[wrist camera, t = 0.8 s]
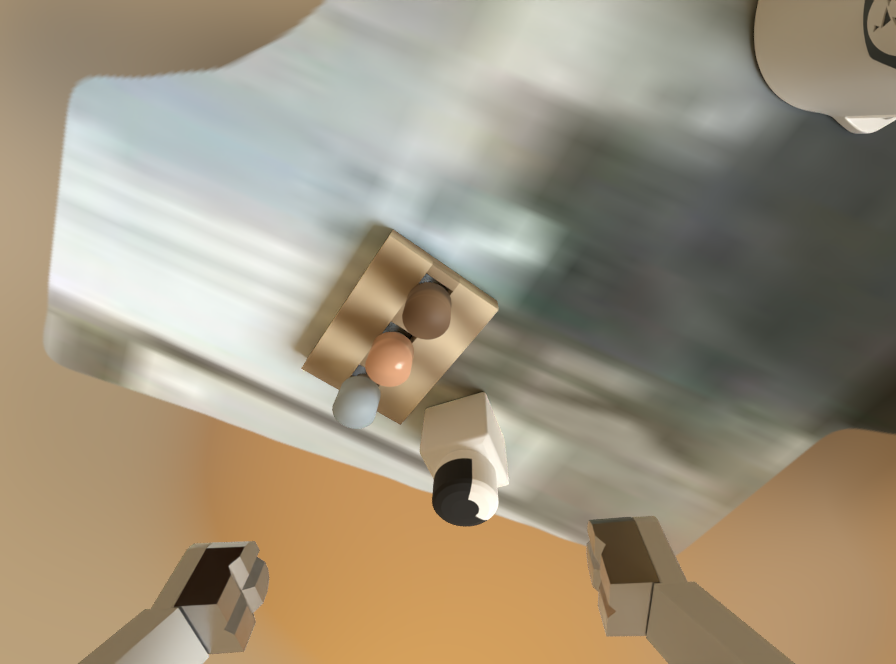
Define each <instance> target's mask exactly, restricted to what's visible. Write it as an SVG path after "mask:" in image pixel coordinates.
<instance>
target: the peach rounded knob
mask: <svg viewBox="0 0 896 664" xmlns="http://www.w3.org/2000/svg"><path fill="white" fill-rule="evenodd" d="M413 357H414V347H413V345H412V343H411V341H410V340H409V339H408V338H407V337H406V336H404V335H403V334H402V333H400V332H397V331H393V332H386V333H383V334H380V335H379V336H378V337H376V339H375V340H374V341H373V344H372V346H371V349H370V352H369V354H368V357H367V360H366V363H365V368H366V372H367V374H368V376H369V377H370V378H371V380H373V381H374V382H375V383H377V384H379V385H382V386H386V387H394V386H398V385H400V384H402V383H404V382H405V381H406V380H407V379H408V377H409V375H410V372H411V367H412V362H413Z"/></svg>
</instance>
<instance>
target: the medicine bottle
mask: <svg viewBox="0 0 896 664" xmlns="http://www.w3.org/2000/svg"><path fill="white" fill-rule="evenodd" d="M420 454H421V456H422V458H423V460H424V462H425V464H426V466H427V467H428V469H429V471H430V473H431V475H432V477H433V479H434V484H433V497H432V504H433V508H434V510H435V512H436V513H437V514H438V515H439V516H440V517H441V518H442V519H443V520H445V521H446V522H448V523H451V524H453V525H457V526H474V525H478V524H481V523H483V522H485V521H487V520H488V519H489V518H490V517H492V516H493V514H494V513H495V512H496V510H497V508H498V490H497V487H501V486H505V485H508V484H509V475H508V466H507V458H506V449H505V440H504V436H503V434H502V431H501V429H500V426H499V424H498V422H497V419H496V417H495V414H494V412H493V410H492V407H491V405H490V402H489V400H488V397H487V395H486V393H485V392H481V393H477V394H474V395H471V396H467V397H464V398H460V399H457V400H453V401H450V402H446V403H443V404H439V405H436V406H433V407H429V408H426V410H425V413H424V421H423V429H422V437H421V445H420Z"/></svg>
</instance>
